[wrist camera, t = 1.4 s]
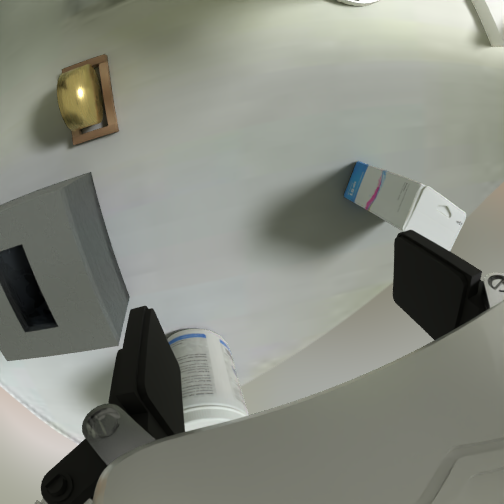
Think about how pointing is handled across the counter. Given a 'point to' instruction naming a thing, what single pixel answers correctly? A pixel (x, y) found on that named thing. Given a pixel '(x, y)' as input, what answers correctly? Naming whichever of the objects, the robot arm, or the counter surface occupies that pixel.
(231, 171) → the counter surface
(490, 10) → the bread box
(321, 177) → the counter surface
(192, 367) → the supplement tub
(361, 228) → the counter surface
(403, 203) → the ink box
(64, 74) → the coin
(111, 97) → the cradle
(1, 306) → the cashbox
